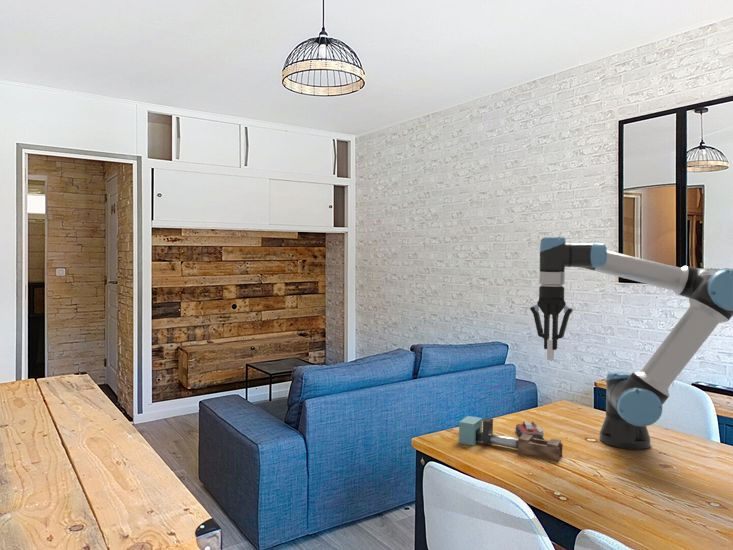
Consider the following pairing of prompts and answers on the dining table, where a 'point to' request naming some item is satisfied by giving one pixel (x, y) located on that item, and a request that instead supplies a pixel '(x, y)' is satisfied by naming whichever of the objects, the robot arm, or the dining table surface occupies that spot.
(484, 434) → the rod
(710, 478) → the dining table surface
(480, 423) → the socket
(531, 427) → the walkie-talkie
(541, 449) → the sleeve
